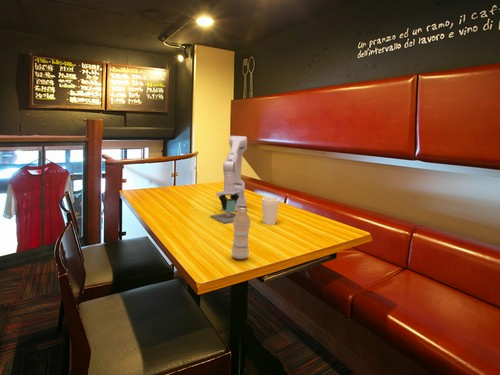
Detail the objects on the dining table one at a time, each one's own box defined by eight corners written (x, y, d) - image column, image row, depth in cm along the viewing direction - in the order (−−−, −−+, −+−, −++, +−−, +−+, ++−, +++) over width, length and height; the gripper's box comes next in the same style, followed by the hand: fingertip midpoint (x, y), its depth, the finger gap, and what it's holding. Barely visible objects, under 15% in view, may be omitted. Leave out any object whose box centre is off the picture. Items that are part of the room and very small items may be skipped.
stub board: (231, 214, 183) (232, 206, 182) (246, 220, 172) (246, 212, 171) (210, 217, 174) (210, 209, 173) (224, 223, 163) (224, 215, 162)
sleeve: (229, 209, 176) (229, 198, 175) (234, 211, 172) (235, 200, 171) (221, 210, 173) (222, 199, 172) (226, 212, 169) (227, 201, 168)
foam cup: (280, 222, 171) (281, 198, 169) (275, 226, 163) (277, 201, 160) (263, 219, 174) (264, 196, 172) (258, 224, 166) (259, 199, 163)
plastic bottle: (238, 253, 126) (240, 203, 122) (252, 257, 122) (254, 207, 118) (227, 258, 121) (229, 206, 117) (242, 263, 117) (244, 210, 113)
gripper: (221, 185, 162) (220, 211, 164) (244, 183, 171) (243, 208, 173) (214, 183, 168) (213, 208, 170) (237, 181, 176) (236, 205, 179)
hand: (228, 208), depth 172 cm, fingers closed on sleeve, 5 cm apart
